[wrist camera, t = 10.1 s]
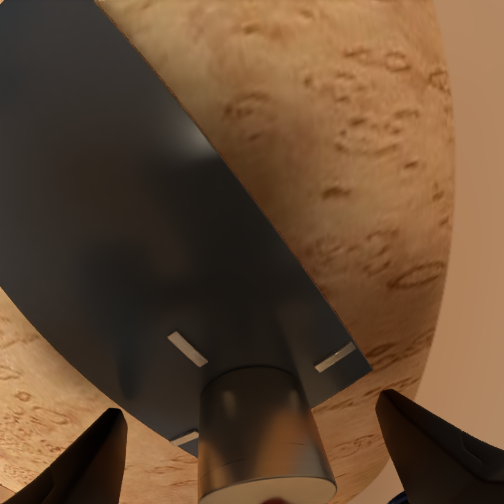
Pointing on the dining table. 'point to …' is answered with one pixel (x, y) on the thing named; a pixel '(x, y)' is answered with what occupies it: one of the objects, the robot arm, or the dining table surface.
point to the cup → (5, 494)
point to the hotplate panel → (142, 231)
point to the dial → (260, 442)
